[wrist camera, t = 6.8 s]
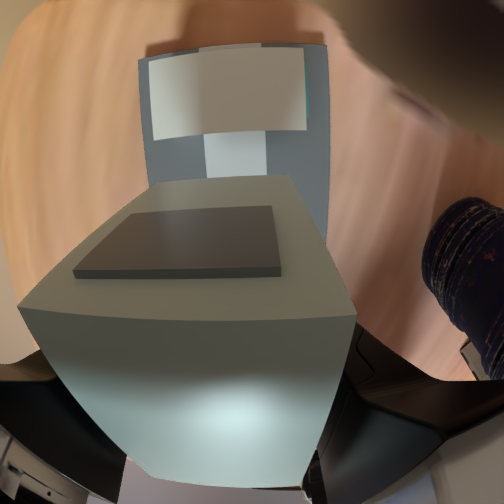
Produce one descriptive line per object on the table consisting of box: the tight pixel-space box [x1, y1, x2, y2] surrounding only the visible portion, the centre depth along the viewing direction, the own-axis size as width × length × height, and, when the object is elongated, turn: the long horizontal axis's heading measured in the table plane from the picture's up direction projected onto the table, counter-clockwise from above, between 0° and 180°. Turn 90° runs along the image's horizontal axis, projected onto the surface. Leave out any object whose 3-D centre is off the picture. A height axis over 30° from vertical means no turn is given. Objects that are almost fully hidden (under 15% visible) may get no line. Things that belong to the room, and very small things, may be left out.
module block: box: [17, 175, 358, 487], centre depth 7 cm, size 4×7×7 cm, turn 3°
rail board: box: [138, 43, 330, 245], centre depth 16 cm, size 11×20×4 cm, turn 3°
